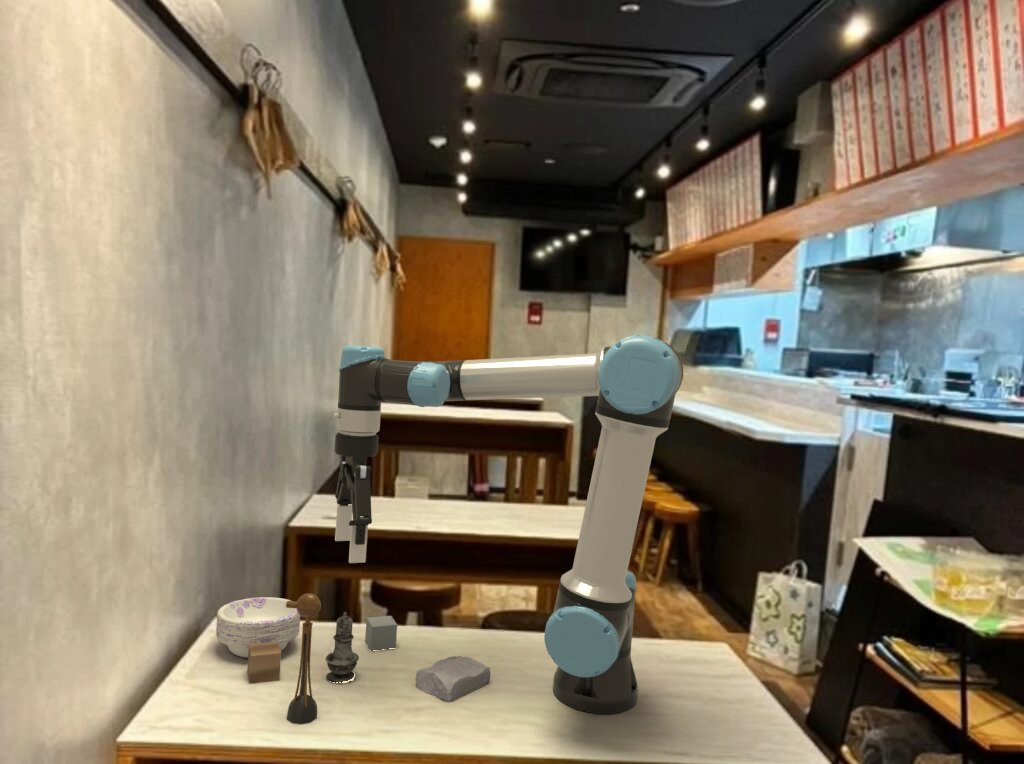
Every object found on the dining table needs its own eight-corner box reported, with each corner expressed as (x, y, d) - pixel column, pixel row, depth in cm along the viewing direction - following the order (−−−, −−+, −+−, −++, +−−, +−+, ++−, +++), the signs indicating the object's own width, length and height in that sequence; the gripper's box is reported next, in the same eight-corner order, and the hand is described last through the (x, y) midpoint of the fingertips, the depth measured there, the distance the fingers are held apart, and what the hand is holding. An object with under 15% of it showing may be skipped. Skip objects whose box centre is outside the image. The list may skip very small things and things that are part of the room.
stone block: (409, 697, 131) (451, 705, 125) (408, 669, 132) (449, 676, 126) (454, 678, 141) (495, 685, 135) (452, 652, 141) (493, 658, 135)
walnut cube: (279, 680, 130) (280, 652, 130) (249, 684, 128) (250, 656, 128) (276, 668, 135) (277, 641, 134) (247, 671, 133) (248, 644, 132)
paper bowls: (257, 627, 153) (259, 589, 152) (315, 645, 146) (317, 605, 146) (196, 652, 139) (199, 611, 138) (257, 673, 132) (260, 629, 132)
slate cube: (395, 649, 147) (397, 624, 147) (370, 652, 145) (372, 626, 144) (389, 639, 151) (390, 615, 151) (365, 642, 149) (366, 617, 149)
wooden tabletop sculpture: (275, 721, 116) (282, 596, 116) (287, 707, 121) (294, 586, 120) (311, 725, 116) (318, 600, 115) (322, 711, 120) (329, 590, 120)
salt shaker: (364, 675, 134) (368, 610, 134) (344, 687, 129) (348, 620, 129) (338, 667, 137) (342, 603, 136) (317, 679, 132) (321, 612, 131)
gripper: (324, 423, 141) (317, 532, 142) (349, 442, 118) (340, 573, 119) (363, 424, 144) (356, 531, 145) (395, 443, 121) (386, 571, 122)
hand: (349, 550), depth 132 cm, fingers open, 13 cm apart
